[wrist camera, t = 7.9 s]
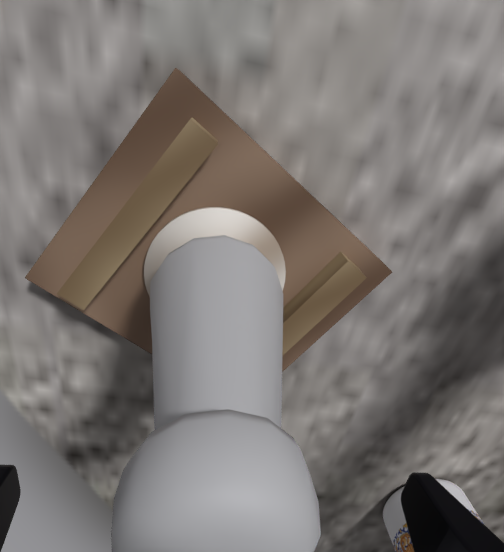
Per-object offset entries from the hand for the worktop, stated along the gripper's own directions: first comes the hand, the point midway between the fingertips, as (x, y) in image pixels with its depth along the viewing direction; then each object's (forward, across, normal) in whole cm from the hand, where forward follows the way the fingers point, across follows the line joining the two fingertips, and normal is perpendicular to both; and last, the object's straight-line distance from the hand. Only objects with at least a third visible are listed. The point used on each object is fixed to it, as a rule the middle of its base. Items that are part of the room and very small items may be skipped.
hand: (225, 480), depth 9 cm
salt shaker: (+11, 0, 0) cm, 11 cm away
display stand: (+13, 0, 0) cm, 13 cm away
